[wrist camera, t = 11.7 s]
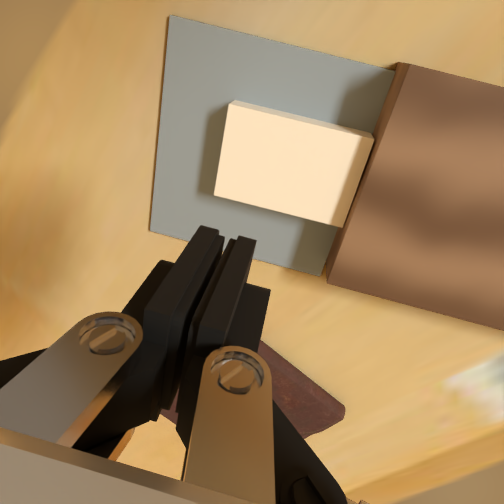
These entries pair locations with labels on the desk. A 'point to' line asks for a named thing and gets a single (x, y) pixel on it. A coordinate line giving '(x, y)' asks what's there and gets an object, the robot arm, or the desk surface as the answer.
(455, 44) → the desk surface
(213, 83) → the mat
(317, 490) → the robot arm
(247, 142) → the cream flat block
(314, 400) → the notebook
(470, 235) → the brown wooden board
